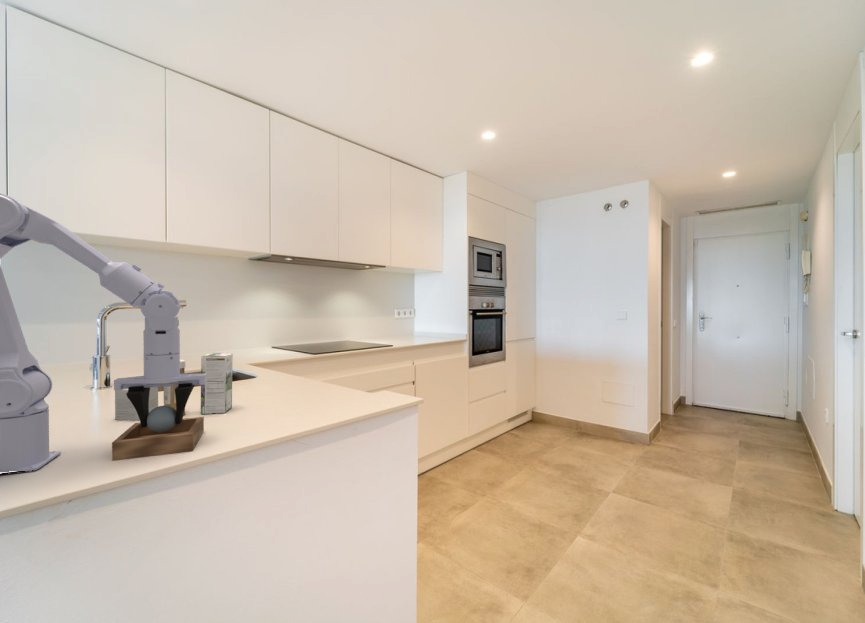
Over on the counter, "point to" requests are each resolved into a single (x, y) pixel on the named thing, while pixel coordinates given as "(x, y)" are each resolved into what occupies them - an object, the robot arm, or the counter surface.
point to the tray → (158, 440)
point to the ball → (161, 419)
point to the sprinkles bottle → (172, 390)
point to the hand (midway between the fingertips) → (162, 424)
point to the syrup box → (216, 383)
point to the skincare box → (126, 408)
